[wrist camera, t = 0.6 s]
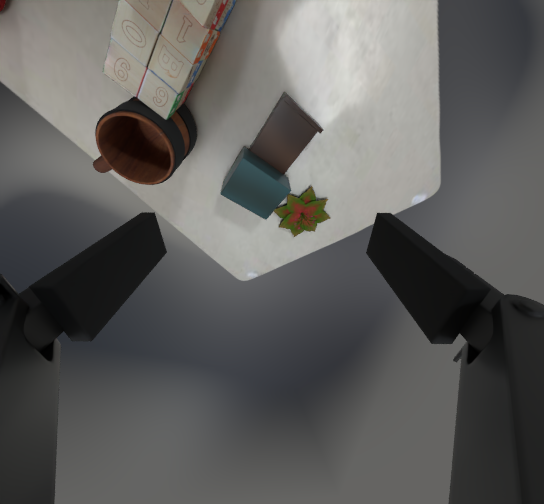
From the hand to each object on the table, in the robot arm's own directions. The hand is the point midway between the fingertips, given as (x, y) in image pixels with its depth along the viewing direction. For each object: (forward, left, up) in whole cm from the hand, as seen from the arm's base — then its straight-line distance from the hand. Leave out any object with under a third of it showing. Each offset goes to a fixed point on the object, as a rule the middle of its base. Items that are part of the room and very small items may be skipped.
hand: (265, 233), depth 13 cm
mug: (+10, -12, -26) cm, 30 cm away
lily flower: (+9, +16, -26) cm, 32 cm away
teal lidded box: (+4, +4, -26) cm, 27 cm away
